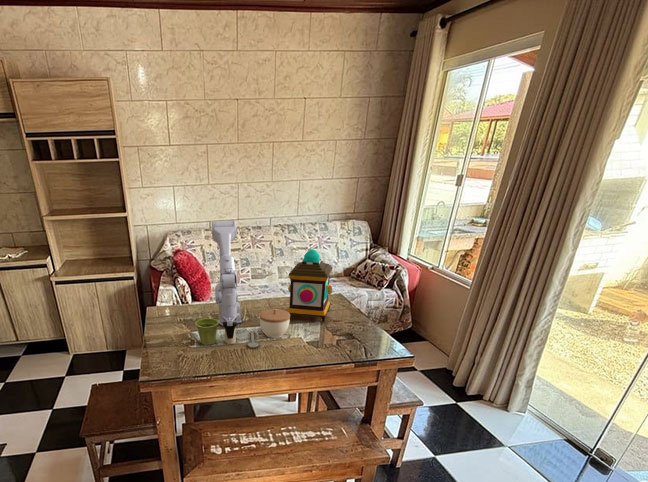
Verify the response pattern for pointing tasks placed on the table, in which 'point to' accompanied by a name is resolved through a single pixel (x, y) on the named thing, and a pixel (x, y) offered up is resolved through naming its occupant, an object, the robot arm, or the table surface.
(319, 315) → the decorative lantern
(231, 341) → the shaker
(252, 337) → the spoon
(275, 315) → the lidded bowl
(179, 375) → the table surface
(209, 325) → the plant pot
